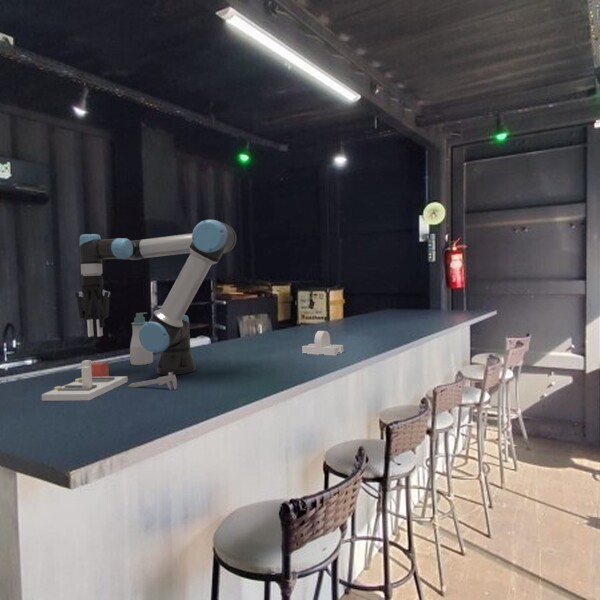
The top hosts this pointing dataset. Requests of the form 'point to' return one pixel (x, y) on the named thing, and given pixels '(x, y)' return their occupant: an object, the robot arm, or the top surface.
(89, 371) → the post
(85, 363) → the block
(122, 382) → the panel
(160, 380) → the caliper
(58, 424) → the top surface
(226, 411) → the top surface
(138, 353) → the soap bottle
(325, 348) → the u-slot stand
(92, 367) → the brick-red cube
